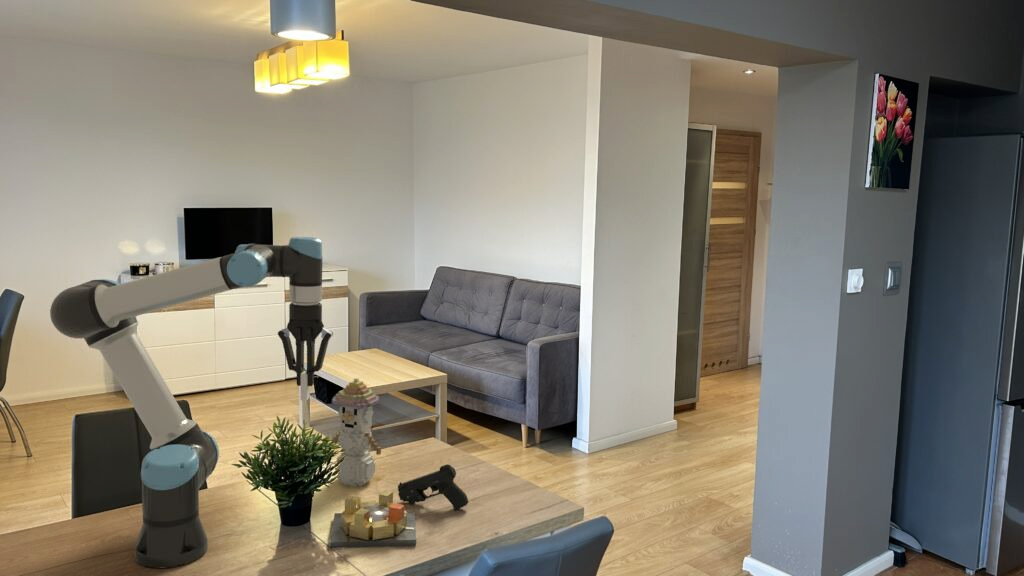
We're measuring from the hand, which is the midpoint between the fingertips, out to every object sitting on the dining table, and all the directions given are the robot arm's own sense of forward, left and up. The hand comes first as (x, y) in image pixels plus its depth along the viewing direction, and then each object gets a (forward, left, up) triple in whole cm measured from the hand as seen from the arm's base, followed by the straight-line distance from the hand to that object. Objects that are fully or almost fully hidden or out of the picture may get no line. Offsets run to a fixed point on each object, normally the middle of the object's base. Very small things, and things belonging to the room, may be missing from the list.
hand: (305, 398), depth 190 cm
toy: (+11, +28, -33) cm, 44 cm away
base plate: (+17, -5, -32) cm, 37 cm away
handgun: (+32, +10, -33) cm, 47 cm away
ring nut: (+17, -5, -31) cm, 35 cm away
